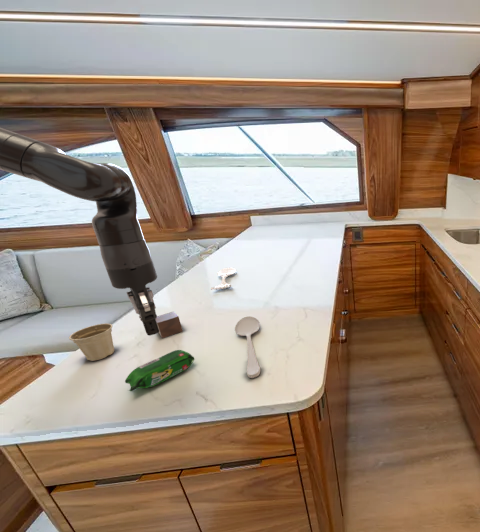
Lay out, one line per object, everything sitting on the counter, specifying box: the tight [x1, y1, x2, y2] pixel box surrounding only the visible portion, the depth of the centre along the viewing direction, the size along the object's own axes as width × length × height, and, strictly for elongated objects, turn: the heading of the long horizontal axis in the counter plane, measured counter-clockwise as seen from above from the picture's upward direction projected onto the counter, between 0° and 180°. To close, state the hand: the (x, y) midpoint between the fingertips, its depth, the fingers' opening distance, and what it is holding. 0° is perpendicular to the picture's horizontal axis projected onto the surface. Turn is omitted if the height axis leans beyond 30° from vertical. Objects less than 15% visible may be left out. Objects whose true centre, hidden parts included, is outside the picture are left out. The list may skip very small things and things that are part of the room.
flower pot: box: [68, 323, 115, 362], centre depth 91 cm, size 9×9×9 cm
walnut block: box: [155, 311, 183, 339], centre depth 104 cm, size 6×6×6 cm
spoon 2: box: [210, 267, 237, 291], centre depth 150 cm, size 9×32×4 cm, turn 25°
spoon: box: [234, 316, 261, 379], centre depth 95 cm, size 35×8×3 cm, turn 29°
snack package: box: [124, 349, 195, 392], centre depth 82 cm, size 7×16×5 cm, turn 149°
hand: (153, 333), depth 69 cm, fingers closed
